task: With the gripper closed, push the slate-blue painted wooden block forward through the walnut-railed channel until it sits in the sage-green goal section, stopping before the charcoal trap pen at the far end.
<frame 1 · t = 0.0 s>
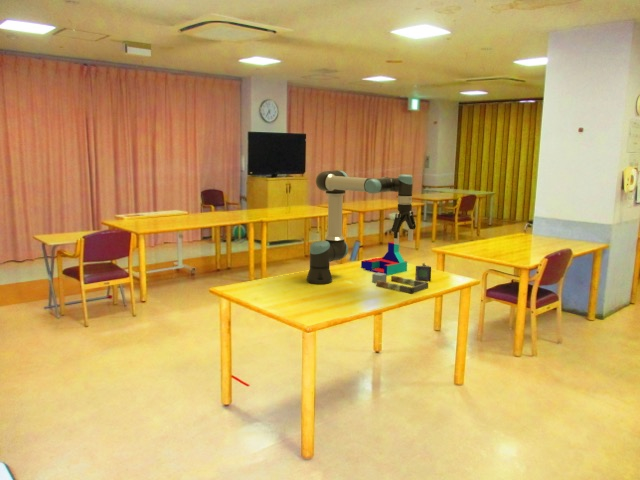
hand: (403, 242, 299), 28 cm above the table, fingers open, 13 cm apart
building blocks toy: (382, 270, 357), on the table
channel rails: (396, 285, 318), on the table
trap pen: (414, 289, 310), on the table
block: (379, 282, 326), on the table
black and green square: (422, 280, 330), on the table
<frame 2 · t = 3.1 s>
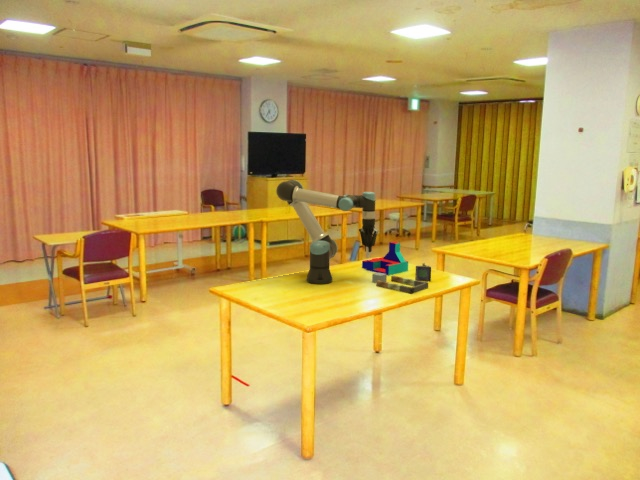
hand: (368, 257, 329), 14 cm above the table, fingers closed
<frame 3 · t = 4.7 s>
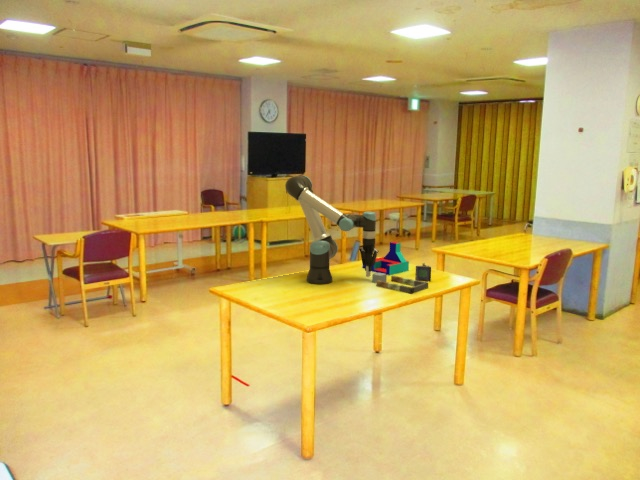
hand: (368, 276, 331), 2 cm above the table, fingers closed
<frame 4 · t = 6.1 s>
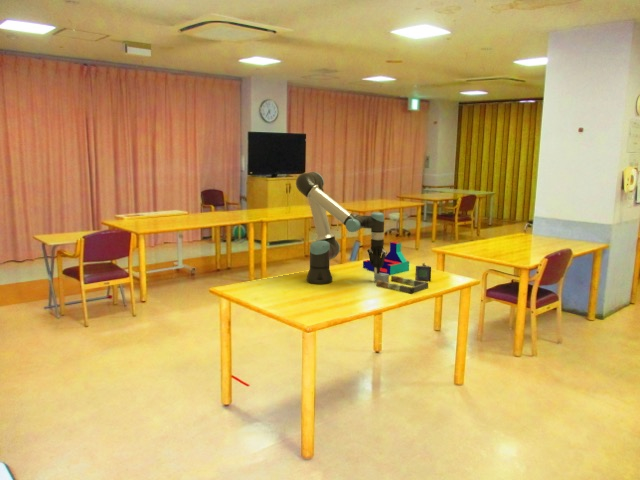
hand: (376, 277, 327), 2 cm above the table, fingers closed
block: (381, 282, 325), on the table
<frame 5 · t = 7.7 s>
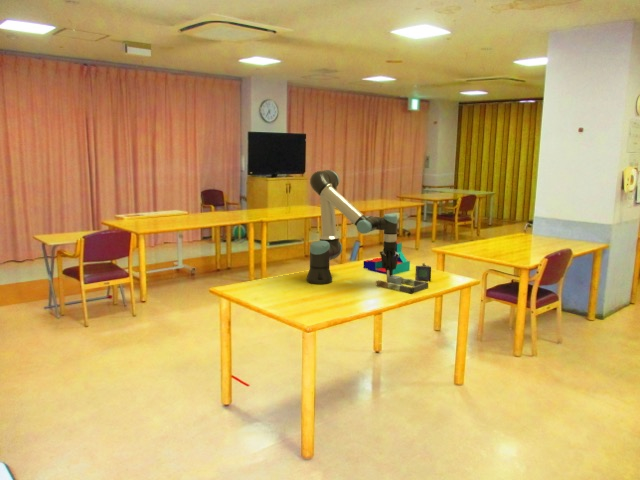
hand: (389, 280, 321), 2 cm above the table, fingers closed
block: (394, 285, 319), on the table
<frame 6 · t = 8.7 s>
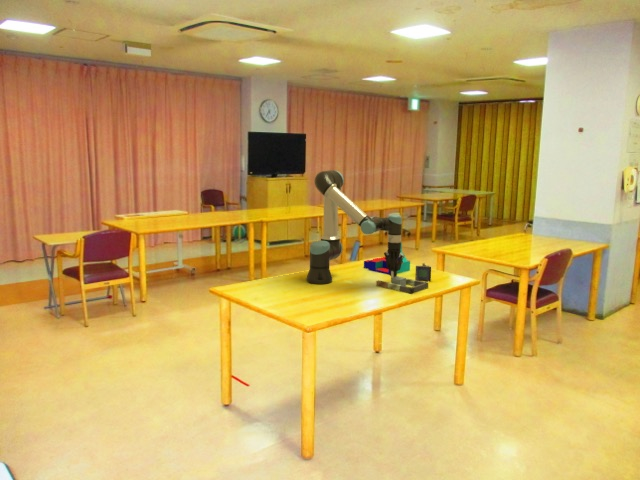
hand: (393, 281, 319), 2 cm above the table, fingers closed
block: (398, 286, 317), on the table, touching gripper
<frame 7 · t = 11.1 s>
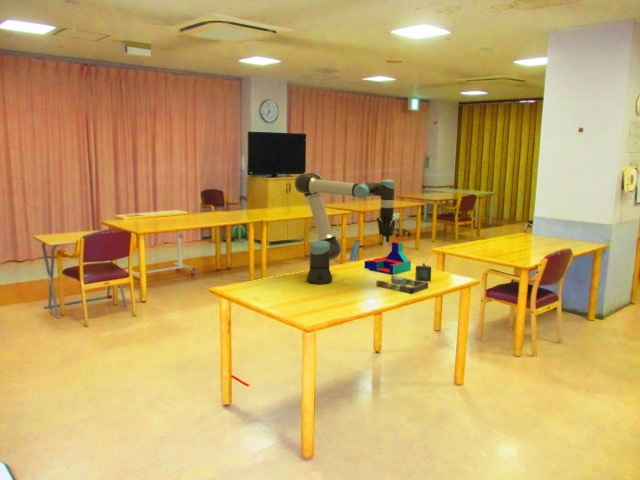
hand: (385, 247, 319), 22 cm above the table, fingers closed
block: (398, 286, 317), on the table
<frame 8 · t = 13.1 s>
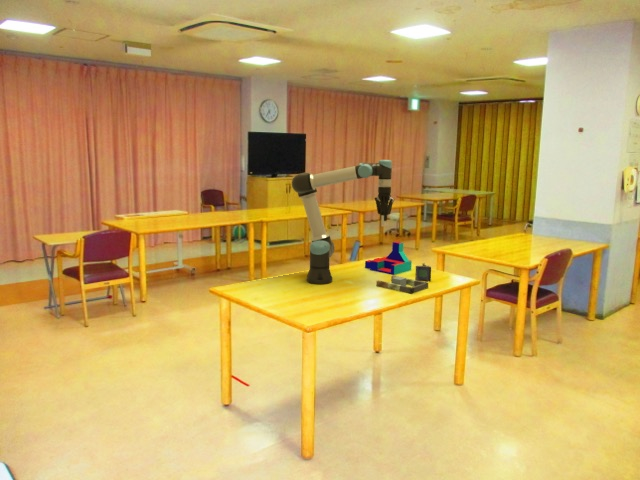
hand: (383, 226, 327), 32 cm above the table, fingers closed
at the end: block inside the target area (2.0 cm from its centre), on the table; block tilted 0°; block touching table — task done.
